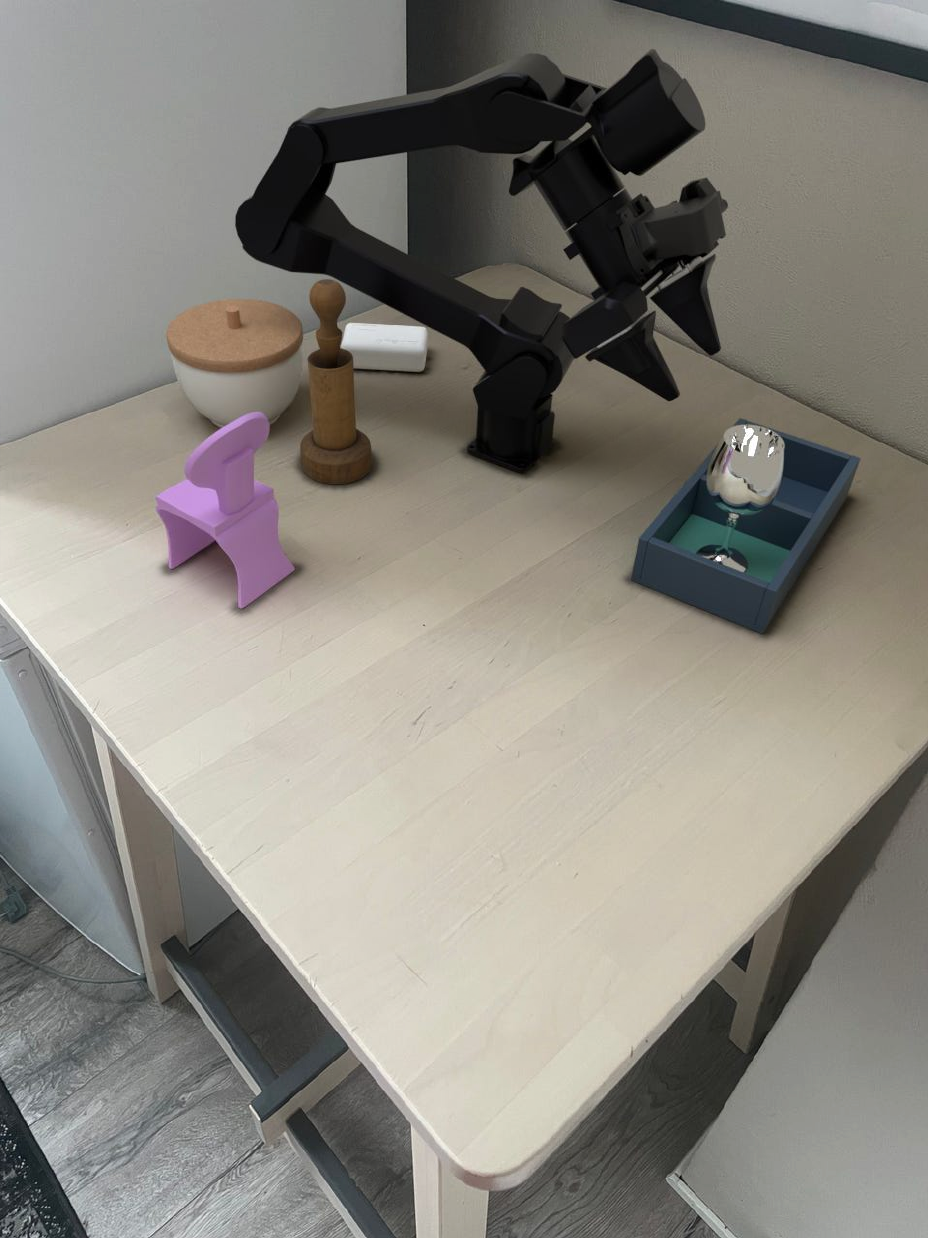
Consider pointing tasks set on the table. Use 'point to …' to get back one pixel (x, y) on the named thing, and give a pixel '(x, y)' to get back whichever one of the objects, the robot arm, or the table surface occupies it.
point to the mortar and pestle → (332, 399)
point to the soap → (386, 346)
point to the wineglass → (743, 482)
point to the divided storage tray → (745, 536)
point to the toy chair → (228, 508)
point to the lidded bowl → (237, 358)
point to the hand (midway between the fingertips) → (696, 374)
